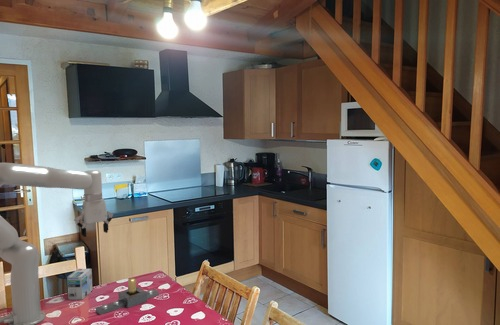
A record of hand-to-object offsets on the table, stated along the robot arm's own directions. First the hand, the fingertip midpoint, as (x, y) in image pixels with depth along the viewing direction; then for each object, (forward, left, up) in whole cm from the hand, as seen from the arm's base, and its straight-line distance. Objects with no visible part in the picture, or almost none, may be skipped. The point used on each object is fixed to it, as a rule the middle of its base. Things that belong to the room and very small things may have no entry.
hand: (95, 234), depth 171 cm
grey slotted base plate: (+6, -19, -28) cm, 35 cm away
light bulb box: (-6, +5, -29) cm, 30 cm away
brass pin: (+8, -19, -28) cm, 35 cm away
